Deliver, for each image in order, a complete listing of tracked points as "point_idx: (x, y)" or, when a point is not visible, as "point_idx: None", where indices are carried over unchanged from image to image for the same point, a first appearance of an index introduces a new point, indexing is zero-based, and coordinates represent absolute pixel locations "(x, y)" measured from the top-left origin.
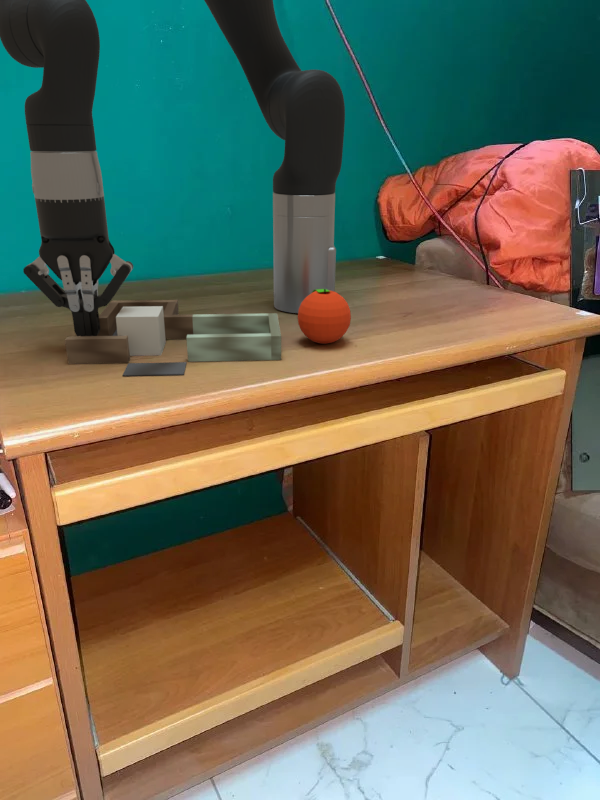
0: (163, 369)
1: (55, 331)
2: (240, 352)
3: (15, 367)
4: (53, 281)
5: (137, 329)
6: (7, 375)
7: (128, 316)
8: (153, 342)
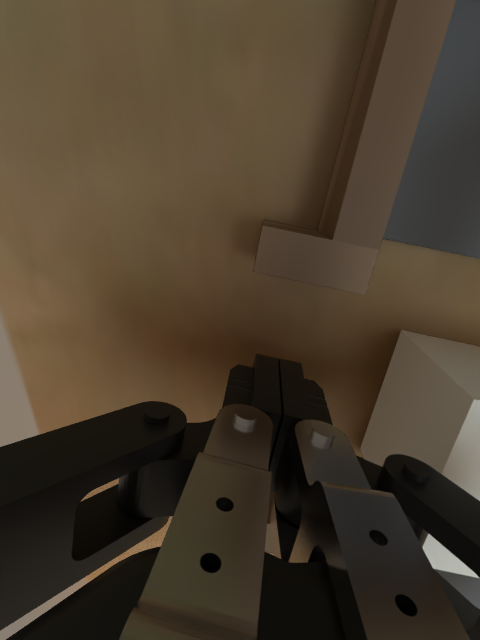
0: (458, 590)
1: (119, 71)
2: None
3: None
4: (58, 503)
5: None
6: None
7: (459, 569)
8: None
